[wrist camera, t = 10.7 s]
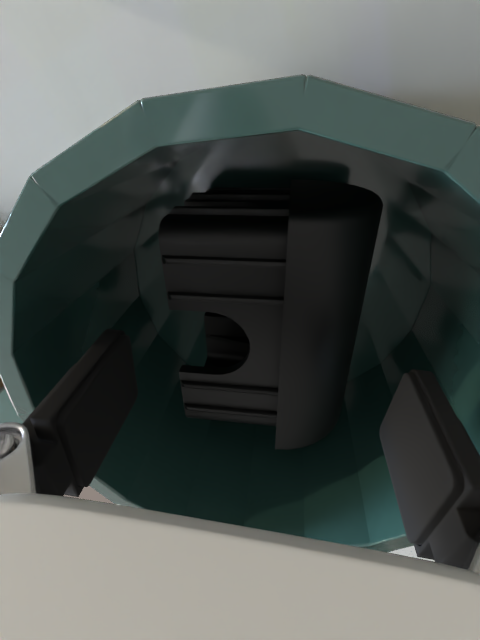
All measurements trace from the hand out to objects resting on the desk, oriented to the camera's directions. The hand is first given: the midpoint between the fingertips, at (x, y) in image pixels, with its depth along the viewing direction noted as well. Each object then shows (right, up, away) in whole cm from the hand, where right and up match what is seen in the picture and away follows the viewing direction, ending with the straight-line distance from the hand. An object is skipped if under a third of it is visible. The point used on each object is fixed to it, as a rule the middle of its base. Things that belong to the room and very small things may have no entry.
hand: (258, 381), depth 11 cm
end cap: (+1, +4, +6) cm, 8 cm away
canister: (+1, +4, +7) cm, 8 cm away
